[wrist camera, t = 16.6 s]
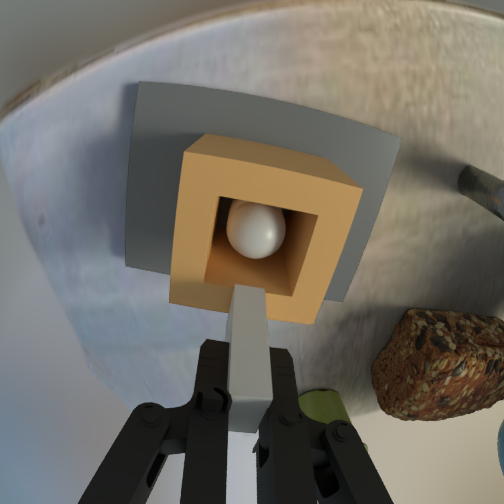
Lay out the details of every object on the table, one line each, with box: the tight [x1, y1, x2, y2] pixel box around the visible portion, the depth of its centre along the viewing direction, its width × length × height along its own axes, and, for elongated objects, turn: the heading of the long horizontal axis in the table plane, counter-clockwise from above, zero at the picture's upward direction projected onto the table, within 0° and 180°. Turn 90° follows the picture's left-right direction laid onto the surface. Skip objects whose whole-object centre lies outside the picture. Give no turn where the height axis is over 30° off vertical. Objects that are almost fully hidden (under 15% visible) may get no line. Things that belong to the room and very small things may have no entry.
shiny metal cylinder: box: [458, 166, 504, 221], centre depth 18 cm, size 3×3×8 cm
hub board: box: [125, 81, 402, 302], centre depth 18 cm, size 18×14×8 cm
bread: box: [371, 309, 504, 421], centre depth 26 cm, size 19×11×10 cm, turn 77°
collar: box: [169, 133, 363, 325], centre depth 17 cm, size 8×8×7 cm
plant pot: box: [298, 390, 368, 452], centre depth 31 cm, size 9×9×9 cm
